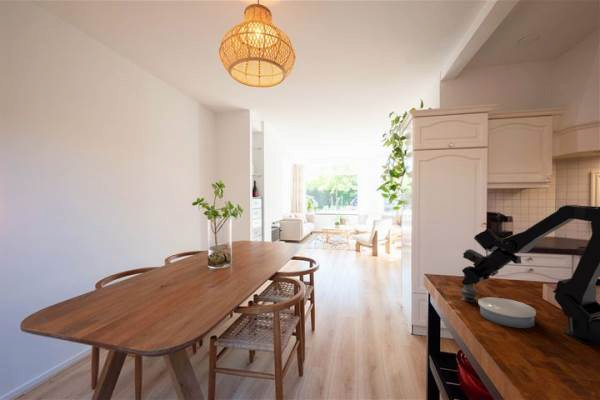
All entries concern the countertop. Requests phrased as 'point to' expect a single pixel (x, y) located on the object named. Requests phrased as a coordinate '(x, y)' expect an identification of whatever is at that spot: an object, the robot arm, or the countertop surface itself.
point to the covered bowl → (507, 312)
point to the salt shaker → (469, 293)
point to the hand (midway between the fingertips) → (464, 282)
